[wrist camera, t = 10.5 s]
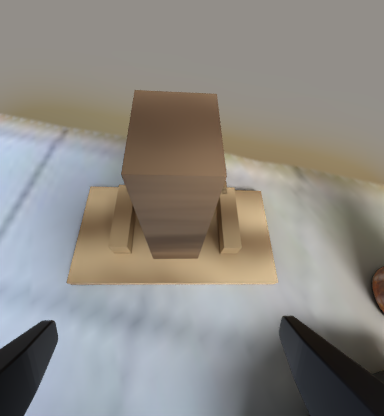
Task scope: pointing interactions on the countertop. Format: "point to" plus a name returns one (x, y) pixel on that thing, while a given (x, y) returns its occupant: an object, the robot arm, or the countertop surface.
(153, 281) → the oak base board
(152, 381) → the countertop surface
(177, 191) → the walnut board piece
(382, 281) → the sauce bottle
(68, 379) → the countertop surface
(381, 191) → the countertop surface
